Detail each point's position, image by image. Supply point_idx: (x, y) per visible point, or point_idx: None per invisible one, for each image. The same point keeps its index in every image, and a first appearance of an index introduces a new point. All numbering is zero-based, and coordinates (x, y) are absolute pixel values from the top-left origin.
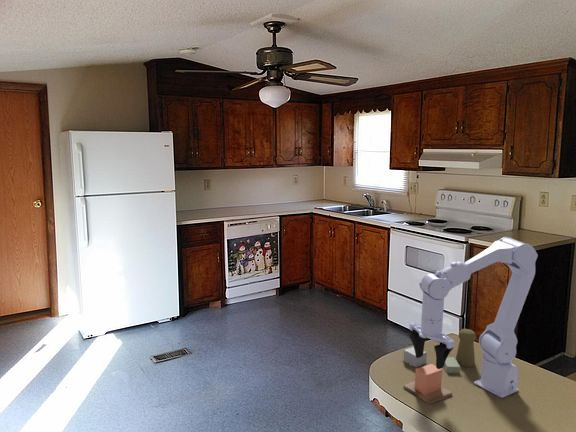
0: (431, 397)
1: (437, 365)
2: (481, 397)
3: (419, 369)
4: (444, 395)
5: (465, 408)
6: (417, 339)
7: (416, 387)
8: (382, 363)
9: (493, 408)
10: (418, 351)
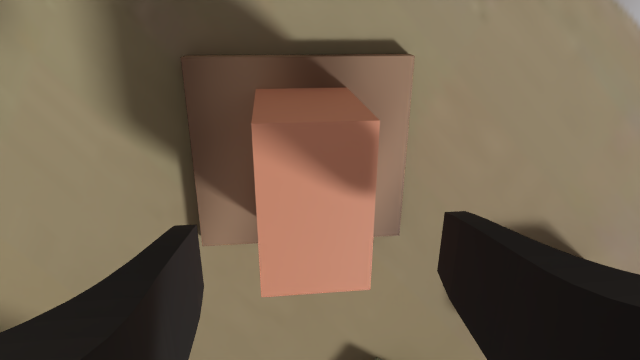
0: (215, 102)
1: (166, 235)
2: None
3: (357, 145)
4: (196, 187)
5: (64, 204)
6: (595, 351)
7: (332, 89)
8: None
9: (13, 320)
10: (477, 256)
